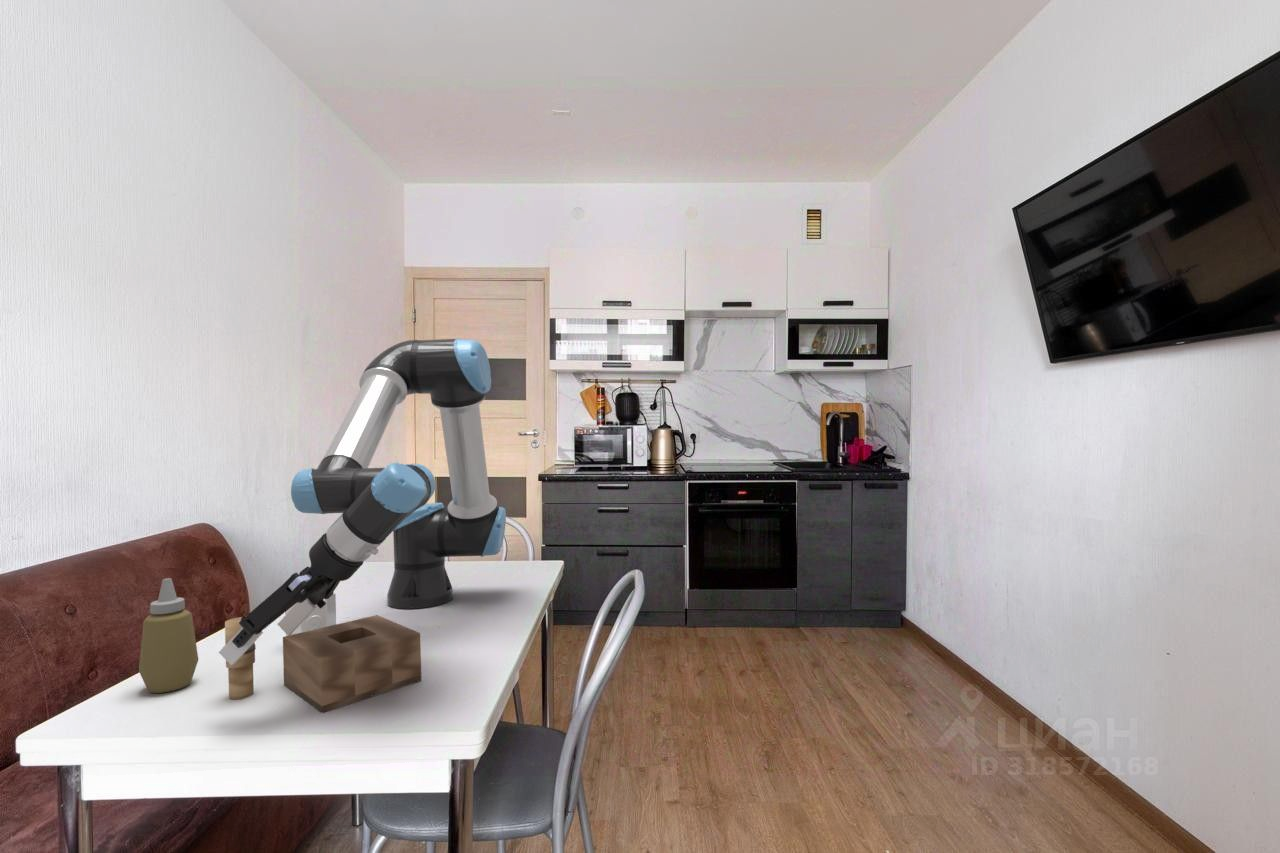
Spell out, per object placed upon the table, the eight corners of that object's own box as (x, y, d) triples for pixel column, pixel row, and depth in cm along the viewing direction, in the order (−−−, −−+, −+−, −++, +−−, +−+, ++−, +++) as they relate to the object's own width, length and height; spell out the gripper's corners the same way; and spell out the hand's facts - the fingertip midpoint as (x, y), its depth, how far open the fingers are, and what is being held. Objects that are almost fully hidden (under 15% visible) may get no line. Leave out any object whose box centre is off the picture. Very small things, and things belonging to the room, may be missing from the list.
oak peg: (251, 687, 109) (250, 614, 109) (260, 694, 106) (258, 619, 106) (222, 695, 106) (220, 620, 106) (230, 702, 103) (228, 626, 103)
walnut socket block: (378, 658, 121) (377, 615, 121) (421, 680, 110) (420, 632, 110) (284, 685, 109) (282, 636, 109) (321, 712, 98) (320, 659, 98)
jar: (288, 655, 124) (286, 591, 124) (284, 643, 131) (282, 583, 131) (340, 645, 129) (338, 584, 129) (333, 634, 136) (331, 576, 136)
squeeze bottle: (152, 701, 104) (149, 587, 104) (130, 690, 108) (127, 581, 108) (208, 683, 111) (205, 576, 111) (185, 674, 115) (182, 571, 115)
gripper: (315, 583, 90) (216, 691, 92) (398, 548, 115) (318, 634, 117) (278, 544, 91) (179, 653, 92) (368, 518, 116) (289, 604, 117)
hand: (257, 642), depth 104 cm, fingers open, 13 cm apart
